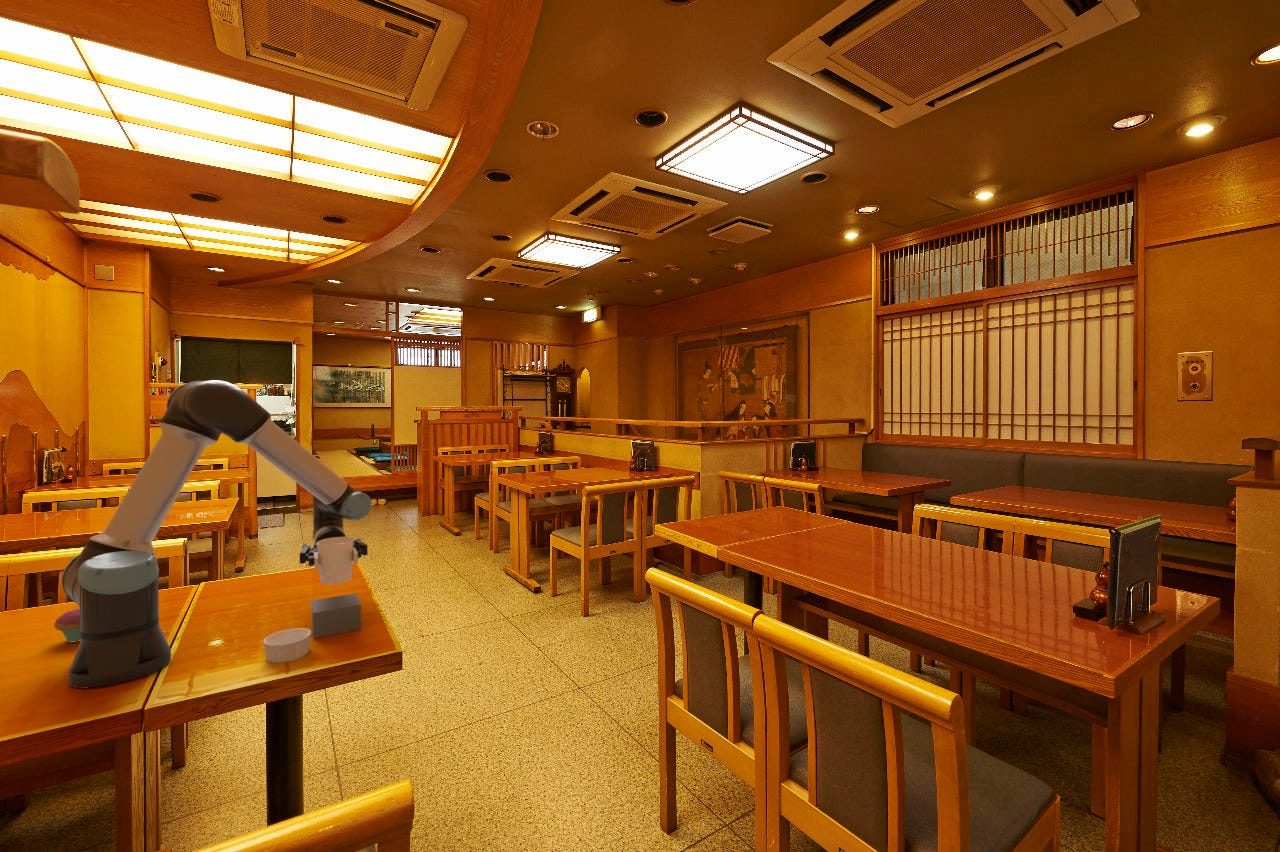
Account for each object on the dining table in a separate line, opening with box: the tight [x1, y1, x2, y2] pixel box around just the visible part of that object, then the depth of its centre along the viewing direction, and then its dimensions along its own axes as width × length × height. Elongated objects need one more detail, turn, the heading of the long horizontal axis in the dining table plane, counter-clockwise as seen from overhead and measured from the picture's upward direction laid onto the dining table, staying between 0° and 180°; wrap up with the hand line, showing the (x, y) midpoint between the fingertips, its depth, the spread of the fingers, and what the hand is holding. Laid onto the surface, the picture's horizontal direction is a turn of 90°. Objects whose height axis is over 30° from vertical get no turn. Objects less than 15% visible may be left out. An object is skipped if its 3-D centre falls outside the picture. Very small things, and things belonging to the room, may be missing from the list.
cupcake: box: [53, 608, 81, 641], centre depth 126 cm, size 9×8×12 cm
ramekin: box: [262, 627, 313, 664], centre depth 118 cm, size 9×9×4 cm
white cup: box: [317, 536, 354, 586], centre depth 133 cm, size 8×8×10 cm
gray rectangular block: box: [311, 593, 362, 639], centre depth 133 cm, size 10×10×6 cm
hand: (336, 561), depth 129 cm, fingers closed on white cup, 7 cm apart
